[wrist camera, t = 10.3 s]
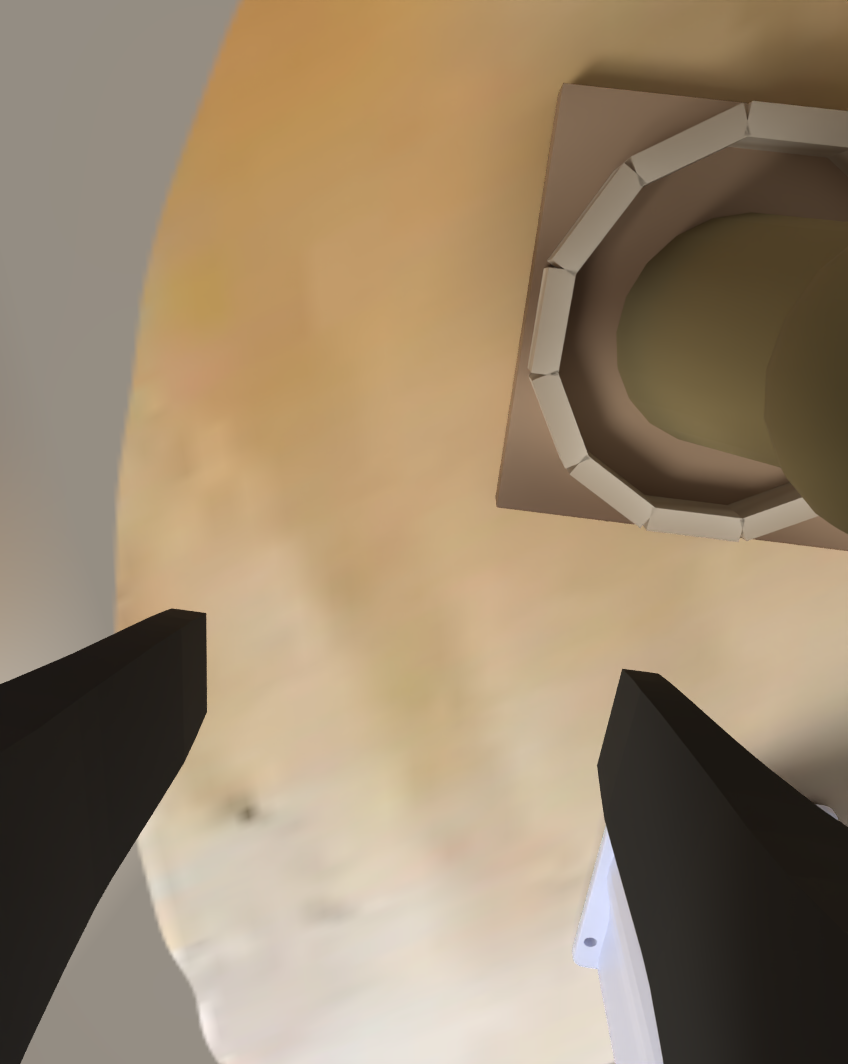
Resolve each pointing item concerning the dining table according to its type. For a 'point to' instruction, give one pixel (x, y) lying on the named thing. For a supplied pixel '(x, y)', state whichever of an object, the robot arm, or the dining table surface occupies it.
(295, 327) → the dining table surface
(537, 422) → the cup holder
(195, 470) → the dining table surface
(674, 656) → the dining table surface
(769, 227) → the cork
